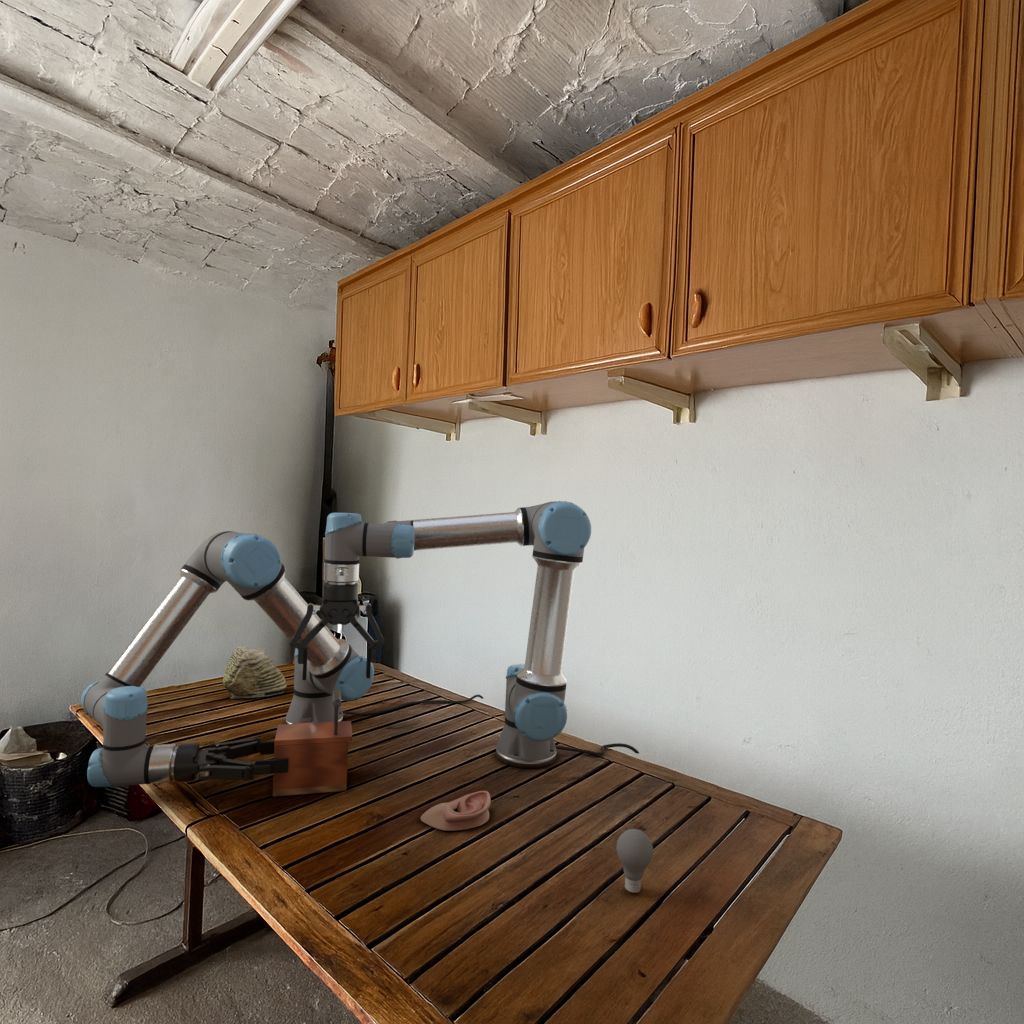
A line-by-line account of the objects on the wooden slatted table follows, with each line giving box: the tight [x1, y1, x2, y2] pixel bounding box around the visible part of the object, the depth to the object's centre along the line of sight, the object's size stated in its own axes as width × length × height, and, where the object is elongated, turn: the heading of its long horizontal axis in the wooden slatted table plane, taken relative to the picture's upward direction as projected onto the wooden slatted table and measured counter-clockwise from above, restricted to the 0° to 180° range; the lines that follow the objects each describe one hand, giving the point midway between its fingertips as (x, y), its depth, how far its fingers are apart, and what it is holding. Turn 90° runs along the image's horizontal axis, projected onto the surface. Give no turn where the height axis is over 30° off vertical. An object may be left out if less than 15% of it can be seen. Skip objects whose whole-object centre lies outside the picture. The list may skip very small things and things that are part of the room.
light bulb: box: [615, 828, 654, 894], centre depth 106 cm, size 6×6×10 cm
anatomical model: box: [419, 790, 492, 832], centre depth 127 cm, size 13×4×12 cm
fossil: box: [222, 646, 288, 699], centre depth 198 cm, size 9×18×15 cm, turn 132°
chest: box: [271, 741, 349, 798], centre depth 140 cm, size 15×10×11 cm, turn 106°
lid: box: [274, 689, 353, 746], centre depth 139 cm, size 16×10×9 cm, turn 106°
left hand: (289, 755), depth 138 cm, fingers closed on chest, 10 cm apart
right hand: (336, 677), depth 141 cm, fingers open, 13 cm apart
